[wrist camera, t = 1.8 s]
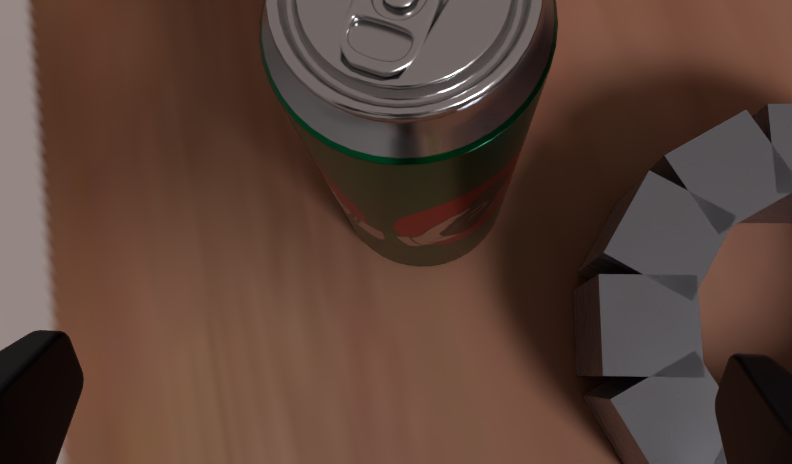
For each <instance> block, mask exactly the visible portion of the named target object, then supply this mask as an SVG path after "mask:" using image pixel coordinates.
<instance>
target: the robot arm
mask: <svg viewBox="0 0 792 464" xmlns="http://www.w3.org/2000/svg"><path fill="white" fill-rule="evenodd" d="M83 381H84V378H83V372H82V369H81V366H80V364H79V361H78V358H77V356H76V353H75V351H74V348H73V345H72V343H71V340H70V338H69V336H68V335H67V334H66V333H65V332H62V331H46V330H44V331H43V330H39V331H34V332H32V333H29V334H28V335H26V336H25V337H23V338H21V339H19V340H18V341H16V342H15V343H13V344H11V345H9V346H8V347H6V348H5V349H3V350H1V351H0V464H56V462H57V459H58V456H59V454H60V451H61V448H62V445H63V442H64V440H65V437H66V434H67V431H68V428H69V426H70V423H71V420H72V417H73V414H74V412H75V409H76V406H77V403H78V400H79V398H80V395H81V392H82V389H83ZM715 414H716V419H717V423H718V428H719V432H720V436H721V441H722V445H723V449H724V454H725V458H726V462H727V464H792V374H791V373H790V372H788V371H787V370H786V369H785V368H783V367H782V366H781V365H779V364H778V363H777V362H775V361H774V360H773V359H771V358H770V357H768V356H766V355H762V354H740V353H738V354H734V355H732V356H731V357H730V358H729V360H728V362H727V365H726V368H725V371H724V374H723V377H722V380H721V383H720V386H719V389H718V391H717V394H716V398H715Z"/></svg>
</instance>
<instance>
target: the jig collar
mask: <svg viewBox="0 0 792 464" xmlns="http://www.w3.org/2000/svg"><path fill="white" fill-rule="evenodd" d="M737 223H792V104H767V105H766V106H765V107H763V108H762V109H761V110H760V111H759V112H757V113H756V114H755V115H754V116H753V117H752V116H751V115H750V114H749V112H748V111H747V110H744V111H742V112H741V113H739V114H737V115H735V116H734V117H732V118H730V119H728V120H726V121H725V122H723V123H721V124H719V125H717V126H716V127H714V128H712V129H710V130H709V131H707V132H705V133H703V134H701V135H700V136H698V137H696V138H694V139H692V140H691V141H689V142H687V143H685V144H684V145H682V146H680V147H678V148H676V149H675V150H673V151H671V152H669V153H667V154H666V155H664V156H663V157H662V158H661V159H660V160H659V161H658V162H657V163H656V164H655V165H654V166H653V167H652V168H651V169H650V170H649V171H648V172H647V173H646V174H645V175H644V176H643V177H642V178H641V179H640V180H639V181H638V182H637V183H636V184H635V185H634V186H633V187H632V188H631V189H630V190H629V191H628V192H627V193H626V194H625V195H624V196H623V197H622V198H621V199H620V200H619V201H618V202H617V203H616V204H615V206H614V208H613V210H612V211H611V213H610V215H609V217H608V218H607V220H606V222H605V224H604V226H603V227H602V229H601V231H600V233H599V235H598V236H597V238H596V240H595V242H594V244H593V245H592V247H591V249H590V251H589V253H588V254H587V256H586V258H585V260H584V261H583V263H582V265H581V267H580V269H579V270H578V272H577V273H579V274H581V275H583V276H585V277H586V278H588V279H590V280H589V281H587V282H586V283H584V284H583V285H581V286H579V287H578V288H576V289H575V290H573V304H574V332H575V361H576V376H606V377H613V378H611V379H610V380H608V381H606V382H604V383H603V384H601V385H599V386H598V387H596V388H594V389H592V390H591V391H589V392H587V393H585V394H584V395H582V396H583V398H584V400H585V401H586V403H587V405H588V406H589V408H590V410H591V411H592V413H593V415H594V416H595V418H596V420H597V421H598V423H599V425H600V426H601V428H602V430H603V431H604V433H605V435H606V436H607V438H608V440H609V441H610V443H611V445H612V446H613V448H614V450H615V451H616V453H617V455H618V456H619V458H620V460H621V461H622V463H623V464H727V462H726V458H725V454H724V449H723V445H722V441H721V436H720V432H719V428H718V423H717V419H716V414H715V398H716V394H717V391H718V389H719V386H718V385H717V383H716V382H715V380H714V379H713V377H712V375H711V374H710V372H709V371H708V369H707V368H706V366H705V365H704V363H703V350H702V337H701V323H700V309H699V296H698V288H699V286H700V284H701V282H702V280H703V278H704V277H705V275H706V273H707V271H708V269H709V267H710V265H711V263H712V261H713V259H714V258H715V256H716V254H717V252H718V250H719V248H720V246H721V244H722V242H723V240H724V239H725V237H726V235H727V233H728V231H729V229H730V227H732V226H734V225H736V224H737Z"/></svg>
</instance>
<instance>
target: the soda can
mask: <svg viewBox="0 0 792 464" xmlns="http://www.w3.org/2000/svg"><path fill="white" fill-rule="evenodd" d="M557 29H558V19H557V7H556V0H263V6H262V11H261V17H260V39H259V42H260V48H261V55H262V61H263V65H264V68H265V71H266V74H267V77H268V80H269V83H270V85H271V87H272V89H273V90H274V92H275V94H276V96H277V98H278V100H279V101H280V103H281V105H282V107H283V108H284V110H285V112H286V113H287V115H288V117H289V118H290V120H291V122H292V124H293V125H294V127H295V129H296V130H297V132H298V134H299V136H300V137H301V139H302V141H303V142H304V144H305V146H306V147H307V149H308V151H309V153H310V154H311V156H312V158H313V159H314V161H315V163H316V165H317V166H318V168H319V170H320V171H321V173H322V175H323V176H324V178H325V180H326V182H327V183H328V185H329V187H330V188H331V190H332V192H333V194H334V195H335V197H336V199H337V200H338V202H339V204H340V205H341V207H342V209H343V211H344V212H345V214H346V216H347V217H348V219H349V221H350V223H351V224H352V226H353V228H354V229H355V231H356V232H357V234H358V235H359V236H360V238H361V239H362V240H363V241H364V242H365V243H366V244H367V245H368V246H369V247H370V248H371V249H372V250H374V251H375V252H377V253H378V254H380V255H381V256H383V257H385V258H387V259H390V260H392V261H394V262H397V263H401V264H405V265H411V266H434V265H440V264H445V263H447V262H450V261H453V260H456V259H458V258H460V257H461V256H463V255H465V254H467V253H468V252H470V251H471V250H472V249H473V248H475V247H476V246H477V245H478V244H479V243H480V242H481V241H482V240H483V239H484V238H485V237H486V236H487V234H488V233H489V231H490V230H491V228H492V227H493V225H494V223H495V221H496V218H497V216H498V214H499V211H500V208H501V206H502V203H503V200H504V197H505V194H506V192H507V189H508V186H509V183H510V180H511V177H512V175H513V172H514V169H515V166H516V163H517V160H518V158H519V155H520V152H521V149H522V146H523V144H524V141H525V138H526V135H527V132H528V129H529V127H530V124H531V121H532V118H533V115H534V113H535V110H536V107H537V104H538V101H539V98H540V96H541V93H542V90H543V87H544V84H545V82H546V79H547V76H548V73H549V70H550V67H551V63H552V60H553V56H554V52H555V48H556V41H557Z"/></svg>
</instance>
